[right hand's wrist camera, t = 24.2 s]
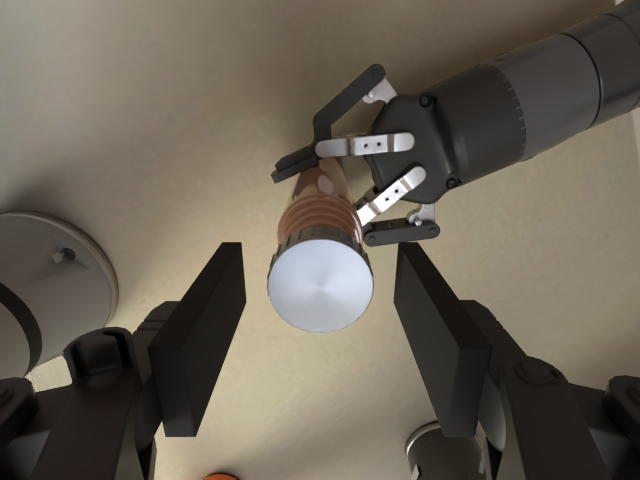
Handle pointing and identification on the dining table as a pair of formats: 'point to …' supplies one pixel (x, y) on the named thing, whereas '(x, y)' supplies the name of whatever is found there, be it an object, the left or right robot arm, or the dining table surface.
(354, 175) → the dining table surface
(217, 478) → the cup with straw
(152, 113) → the dining table surface
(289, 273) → the cap
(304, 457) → the dining table surface
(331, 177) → the bottle
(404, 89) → the dining table surface
